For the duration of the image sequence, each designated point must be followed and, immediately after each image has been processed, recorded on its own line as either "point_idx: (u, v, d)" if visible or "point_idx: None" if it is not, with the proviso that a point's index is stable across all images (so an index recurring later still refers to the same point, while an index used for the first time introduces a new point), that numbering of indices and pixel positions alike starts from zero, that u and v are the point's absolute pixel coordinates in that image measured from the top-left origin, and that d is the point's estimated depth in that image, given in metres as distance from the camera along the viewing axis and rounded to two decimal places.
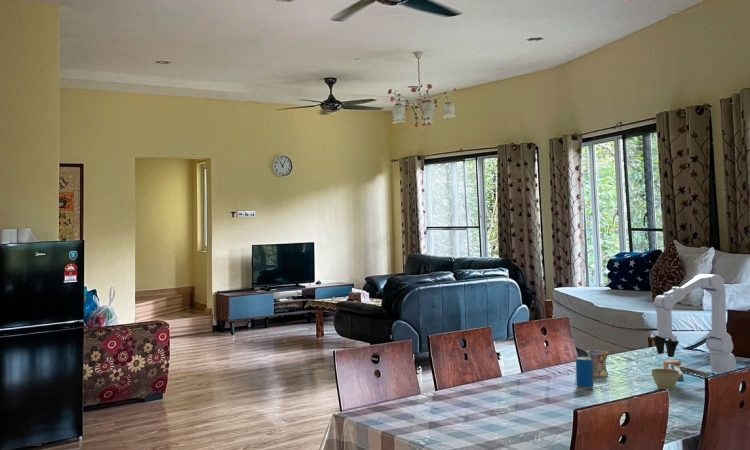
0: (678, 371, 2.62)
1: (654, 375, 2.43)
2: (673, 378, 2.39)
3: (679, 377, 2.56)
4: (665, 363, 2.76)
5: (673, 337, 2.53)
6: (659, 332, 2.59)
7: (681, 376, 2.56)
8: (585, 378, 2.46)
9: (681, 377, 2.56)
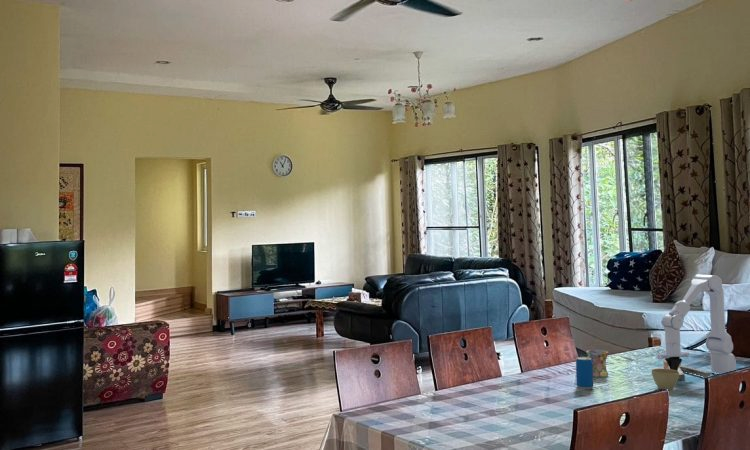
0: (679, 371, 2.62)
1: (654, 375, 2.43)
2: (673, 378, 2.39)
3: (680, 377, 2.56)
4: (665, 363, 2.76)
5: (658, 355, 2.59)
6: None
7: (682, 376, 2.56)
8: (585, 378, 2.46)
9: (682, 377, 2.56)
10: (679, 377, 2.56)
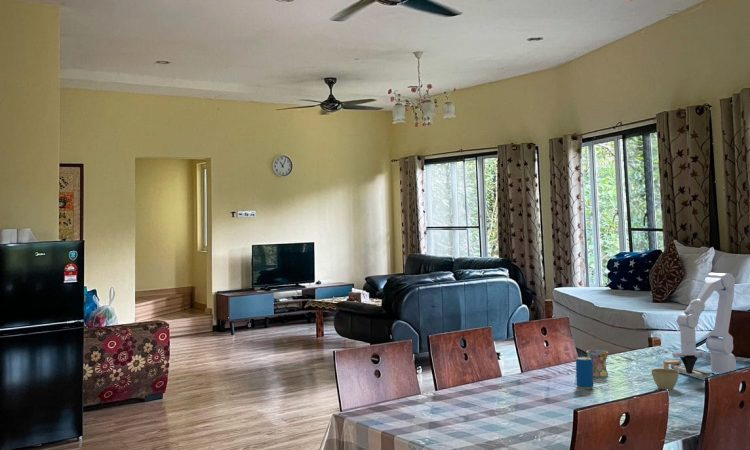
0: (693, 371, 2.61)
1: (654, 375, 2.43)
2: (673, 378, 2.39)
3: (703, 377, 2.55)
4: (665, 363, 2.76)
5: (673, 353, 2.61)
6: None
7: (704, 376, 2.55)
8: (585, 378, 2.46)
9: (704, 377, 2.55)
10: (701, 377, 2.55)
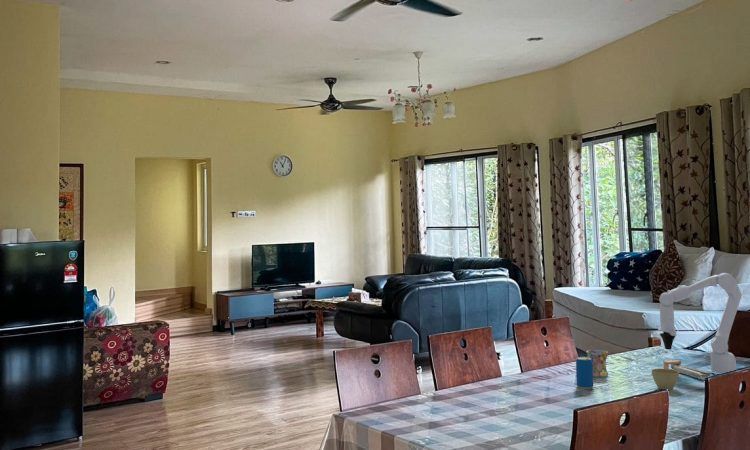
0: (693, 371, 2.61)
1: (654, 375, 2.43)
2: (673, 378, 2.39)
3: (703, 377, 2.55)
4: (665, 363, 2.76)
5: (672, 332, 2.69)
6: (661, 327, 2.76)
7: (704, 376, 2.55)
8: (585, 378, 2.46)
9: (704, 377, 2.55)
10: (701, 377, 2.55)
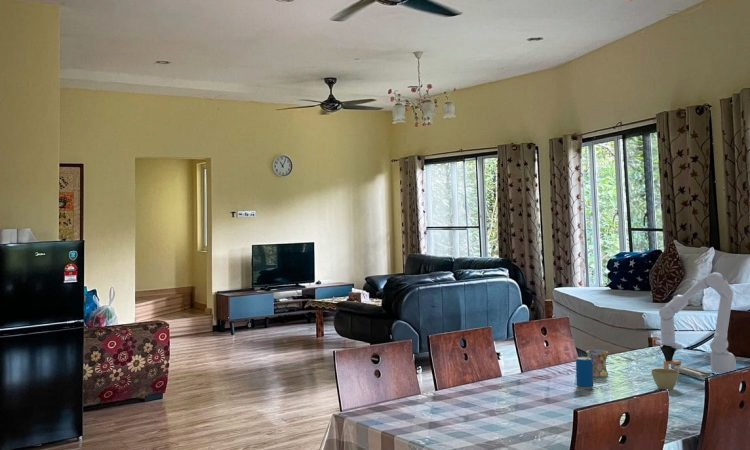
0: (693, 371, 2.61)
1: (654, 375, 2.43)
2: (673, 378, 2.39)
3: (703, 377, 2.55)
4: (665, 363, 2.76)
5: (678, 345, 2.72)
6: (663, 341, 2.78)
7: (704, 376, 2.55)
8: (585, 378, 2.46)
9: (704, 377, 2.55)
10: (701, 377, 2.55)
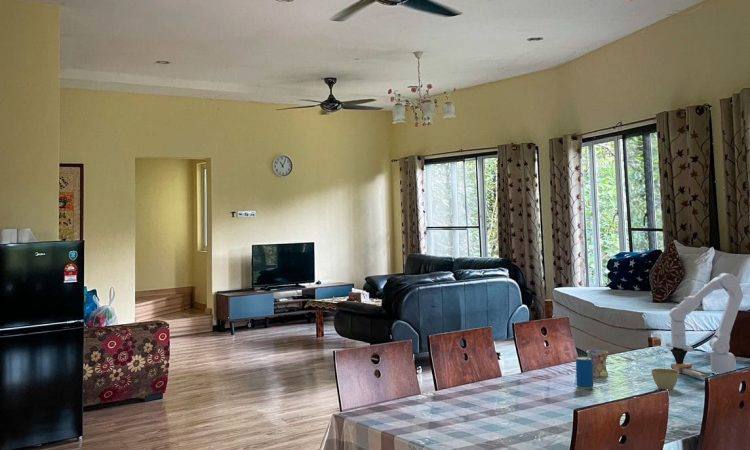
0: (693, 371, 2.61)
1: (654, 375, 2.43)
2: (673, 378, 2.39)
3: (703, 377, 2.55)
4: (676, 366, 2.69)
5: (689, 348, 2.65)
6: (674, 343, 2.71)
7: (704, 376, 2.55)
8: (585, 378, 2.46)
9: (704, 377, 2.55)
10: (701, 377, 2.55)
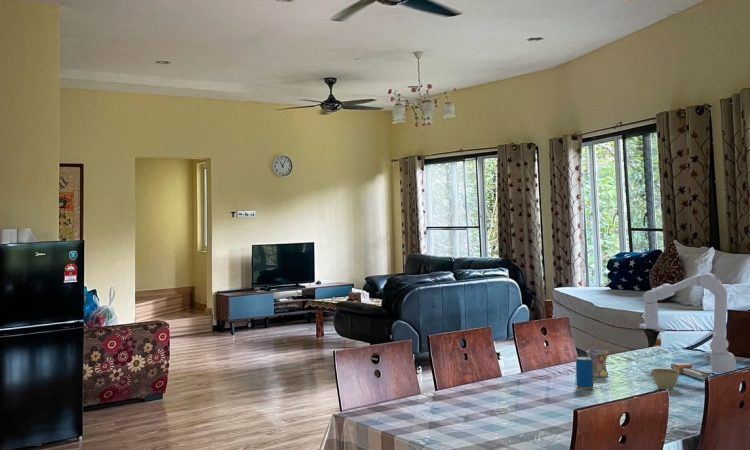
0: (693, 371, 2.61)
1: (654, 375, 2.43)
2: (673, 378, 2.39)
3: (703, 377, 2.55)
4: (676, 366, 2.69)
5: (661, 328, 2.76)
6: (647, 324, 2.82)
7: (704, 376, 2.55)
8: (585, 378, 2.46)
9: (704, 377, 2.55)
10: (701, 377, 2.55)
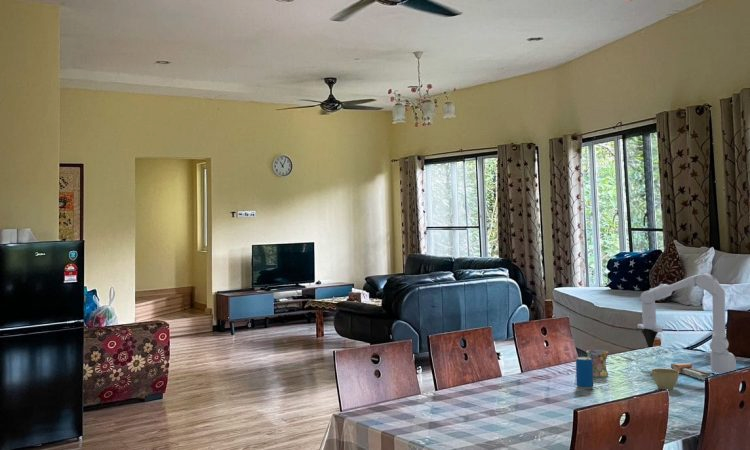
0: (693, 371, 2.61)
1: (654, 375, 2.43)
2: (673, 378, 2.39)
3: (703, 377, 2.55)
4: (676, 366, 2.69)
5: (659, 329, 2.77)
6: (645, 324, 2.83)
7: (704, 376, 2.55)
8: (585, 378, 2.46)
9: (704, 377, 2.55)
10: (701, 377, 2.55)
